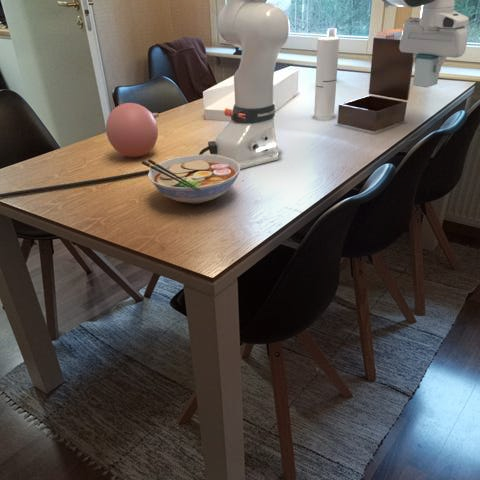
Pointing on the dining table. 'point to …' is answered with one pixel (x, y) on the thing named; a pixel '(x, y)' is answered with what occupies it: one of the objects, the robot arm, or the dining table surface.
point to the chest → (372, 113)
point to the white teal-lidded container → (425, 71)
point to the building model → (225, 94)
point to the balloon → (132, 129)
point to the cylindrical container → (326, 76)
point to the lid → (390, 69)
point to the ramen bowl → (194, 177)
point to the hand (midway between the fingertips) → (427, 71)
